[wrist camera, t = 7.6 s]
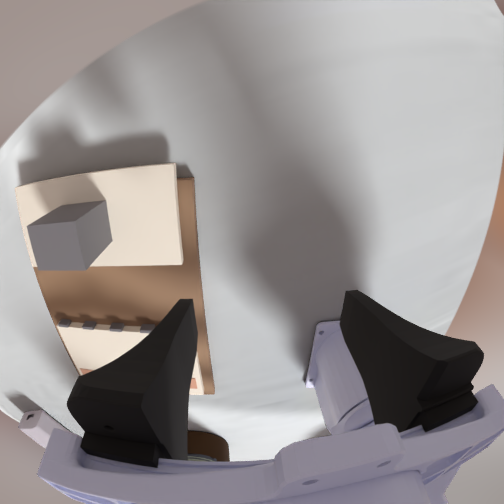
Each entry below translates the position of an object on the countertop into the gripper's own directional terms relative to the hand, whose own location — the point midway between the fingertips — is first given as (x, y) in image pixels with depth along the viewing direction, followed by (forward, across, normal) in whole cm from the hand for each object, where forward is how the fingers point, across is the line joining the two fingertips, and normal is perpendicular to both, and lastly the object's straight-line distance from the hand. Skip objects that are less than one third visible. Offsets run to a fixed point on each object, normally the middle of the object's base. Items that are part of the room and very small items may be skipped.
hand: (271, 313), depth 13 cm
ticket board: (+9, +12, +6) cm, 17 cm away
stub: (+8, +12, -3) cm, 15 cm away
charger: (+10, +37, +37) cm, 53 cm away
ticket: (+8, +12, +12) cm, 19 cm away
